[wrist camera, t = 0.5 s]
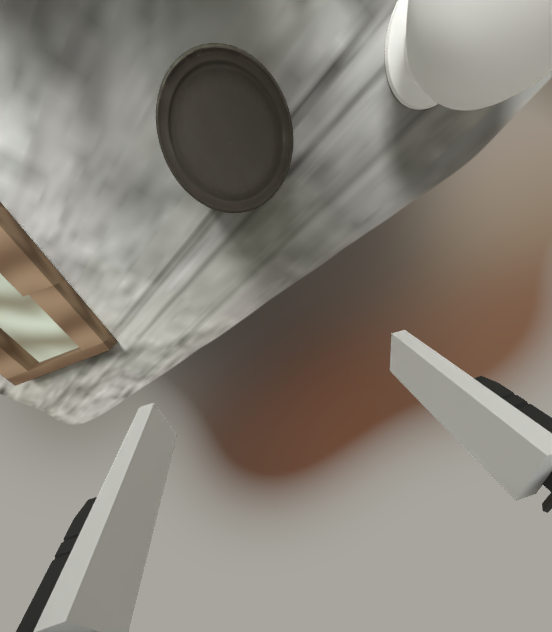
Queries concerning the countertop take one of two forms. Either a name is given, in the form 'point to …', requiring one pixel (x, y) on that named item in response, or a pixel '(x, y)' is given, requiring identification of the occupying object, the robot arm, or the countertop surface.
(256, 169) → the coffee can
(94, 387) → the countertop surface
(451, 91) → the decorative vase
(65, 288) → the brown wooden picture frame
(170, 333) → the countertop surface
